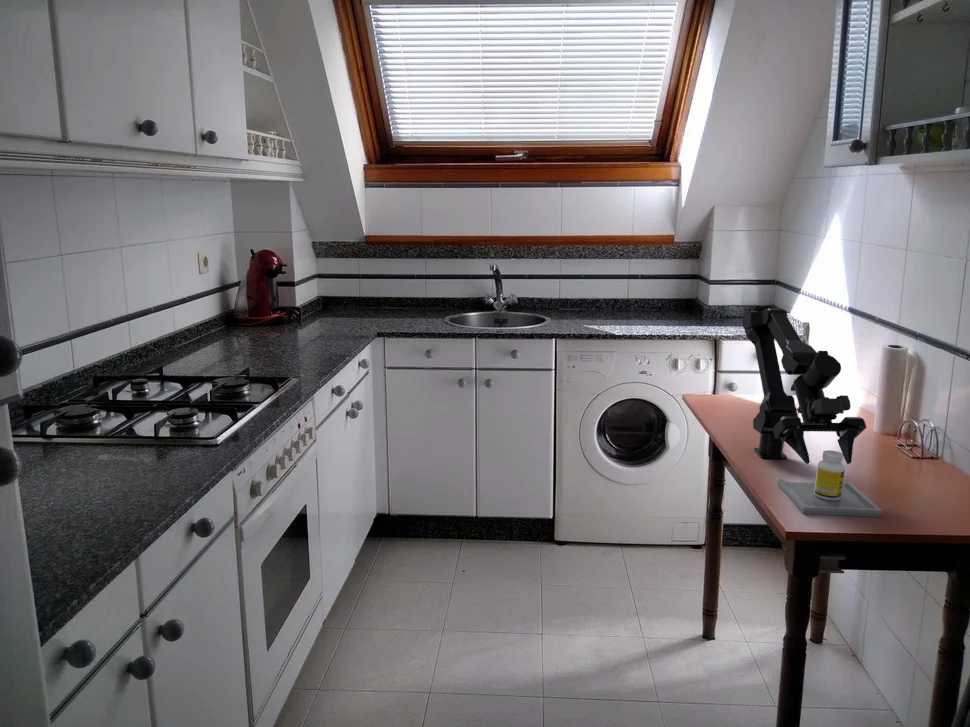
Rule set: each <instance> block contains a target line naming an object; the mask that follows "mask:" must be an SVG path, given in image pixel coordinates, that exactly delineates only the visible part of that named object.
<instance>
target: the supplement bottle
mask: <svg viewBox="0 0 970 727" xmlns="http://www.w3.org/2000/svg"><path fill="white" fill-rule="evenodd" d="M843 461H844V456H843V454H842V452H840V451H837V450H830V449H829V450H824V451H823V453H822V459H821V460H820V461H818V463H817V467H816V475H815V482H814V483H815V487H814V495H815V496H817V497H818V498H821V499H824V500H832V501H835V500H839V499H840V498H841V492H842V485H843V484H844V477H845V472H846V467H845V465H844V463H842V462H843Z"/></svg>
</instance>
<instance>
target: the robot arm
mask: <svg viewBox="0 0 970 727" xmlns="http://www.w3.org/2000/svg"><path fill="white" fill-rule="evenodd" d="M787 312H788V311H787V310H786V309H783V308H766V309H763V310H749V311H748V312H747V313H746V314H744V315H743V317H742V320H741V321H742V322H741V324H742V325H741V326H742V328H743V329H744V333H745V336H746V338H747V339H748V340H749V341H750V343H752V344H753V345H754V350H755V355H756V360H757V366H758V370H759V376H760V382H761V386H762V392H763V393H762V394H763V398H762V400H761V403H760V405H759V407H758V409H759V411H758V413H757V414H756V415H755V417H754V418H753V419H752V424H753V425H752V426H753V429H754V430H755V431H756V432H757V433H759V434H760V436H759V444H758V447H754V448H753V450H754V452H755V453H756V454H757V455H758V456H759V457H760V458H762V459H776V460H777V459H778V460H782V459H783V460H787V459H788V456H787V455H786V454H785V453H784V446H785V445H784V444H785V443H786V444H787V445H788V446H789V447H790V448H791V449H792V450H793V451H794V452H795V453H796V454H797V456H799V457H800V459H801V460H802V461H803V462H804V463H805V464H806V465H809V463H810V462H811V461H810V454H809V452H808V448H807V445H806V441H805V436H804V435H805V434H804V432H831V433H832V432H833V433H835V434H836V436H837V437H838V439H837V443H838V446H839V448H840V450H841V453H842V454H843V460H845V462H846V464H847V465H850V464H851V463H852V459H853V458H852V457H853V450H854V442H855V439H856V438H857V437H858V436H859V435H861V434H862V433H863V432H864V431H865V430H866V429H867V424H866V421H865V419H864V418H862V417H861V416H845V417H844V418H843V419H842V420H841V421H840V422H833V420H836V419H837V417H838V416H837V415H839V414H842V415H843V414H844V412H846V411H849V410H851V401H850V398H849V396H848V395H846V394H845V395H843V394H842V395H837V396H836V397H835V398H831V397H830V398H829V397H827V396H826V395H825V392H824V389H826V388H827V387H828V386H830V384H832V382H833V381H834V380H835V379H836V377H838V376H839V374H840V373H841V371H842V365H841V363H840V362H839V361H838V360H837V358H835V357H834V356H833V355H830V354H829V352H828V350H818V351H816V349H814V348H813V347H812V345H810V344H807V343H806V342H804V341H803V340H802V339H801V338H800V336H799V334H798V333H797V331H796V329H795V327H794V326H793V324H792V322H791V321H790V319H789V317H788V313H787ZM776 343H777V345H778V347H779V349H780V351H781V352H782V357H781V359H780V361H781V367H782V368H783V369H784V371H785V373H786V374H787V375H790V376H797V377H796V378H794V380H793V383H792V385H791V386H790V391H791V392H795V395H796V399H797V404H798V408H797V407H796V401H795V397H794V396H793V395H792V394H791V395H790V394H789V395H788V394H787V393H786V392H785V389H784V384H783V383H784V382H783V378H782V374H781V369H780V364H779V358H778V353H777V349H776ZM798 414H801V417H802V419H801V418H800V417H799V415H798ZM801 420H802V421H801Z"/></svg>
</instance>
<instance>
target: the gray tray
mask: <svg viewBox="0 0 970 727" xmlns="http://www.w3.org/2000/svg"><path fill="white" fill-rule="evenodd" d="M777 486H778V488H779V489H780V490H781V491H782V492H783V493H784V494H785V496H787V497H788V500H790V501H791V502H792V503H793V505H795V507H796V508H797V509H798V510H799V511H800V512H801V513H802V514H805V515H823V516H824V515H828V516H849V517H850V516H851V517H869V516H870V517H872V518H876V517H877V518H883V517H882V515H883V510H882V508H880V507H879V506H878V505H877V504H876V503H874V501H872V500H871V499H870V498H869V497H867V495H865V494H864V493H863V492H862V491H861V490H860V489H859V488H857V487H856V486H855V485H854V484H853V483H852V482H850V481H845V482H844V483H843V485H842V492H841V498H840V499H839V500H835V501H832V500H824V499H821V498H818V497H817V496H815V495H814V487H815V482H800V481H799V482H795V481H794V482H793V481H785V480H784V479H783V478H778V479H777ZM870 517H869V518H870Z"/></svg>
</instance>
